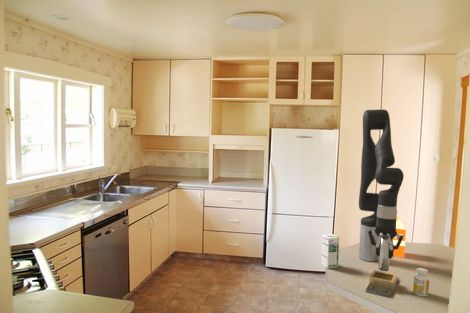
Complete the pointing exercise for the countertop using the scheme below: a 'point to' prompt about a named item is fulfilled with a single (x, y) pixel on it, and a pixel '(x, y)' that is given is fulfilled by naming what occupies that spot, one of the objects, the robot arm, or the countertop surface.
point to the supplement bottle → (421, 282)
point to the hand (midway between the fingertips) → (384, 256)
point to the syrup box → (330, 251)
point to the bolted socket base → (382, 283)
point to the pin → (384, 253)
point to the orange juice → (401, 231)
